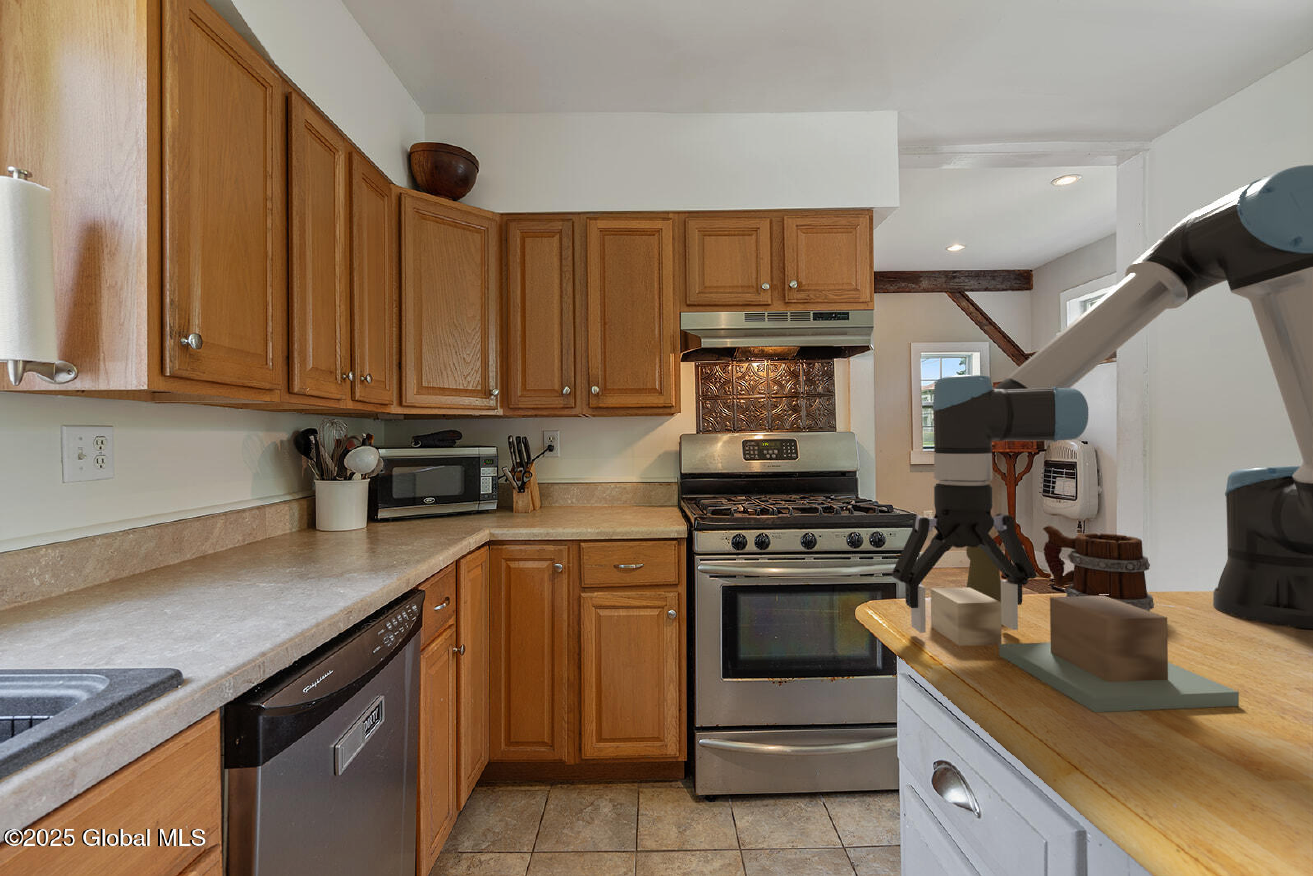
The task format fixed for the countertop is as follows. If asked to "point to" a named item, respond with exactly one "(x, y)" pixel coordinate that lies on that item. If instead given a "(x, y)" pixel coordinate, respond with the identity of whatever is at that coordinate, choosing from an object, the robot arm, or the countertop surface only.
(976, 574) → the olive pepper shaker
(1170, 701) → the baseplate
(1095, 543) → the mug
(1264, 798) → the countertop surface
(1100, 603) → the walnut brick
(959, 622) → the maple cap block
